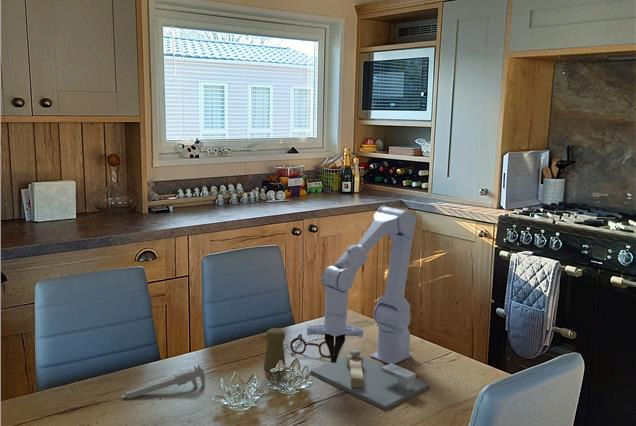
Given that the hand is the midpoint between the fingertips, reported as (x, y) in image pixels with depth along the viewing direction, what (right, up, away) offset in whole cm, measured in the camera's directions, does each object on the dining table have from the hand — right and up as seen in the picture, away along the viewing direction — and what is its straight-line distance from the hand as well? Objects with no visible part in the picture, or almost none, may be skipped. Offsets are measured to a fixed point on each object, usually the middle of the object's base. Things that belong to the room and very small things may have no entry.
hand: (333, 361), depth 160 cm
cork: (-16, -4, +7) cm, 18 cm away
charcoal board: (+9, -5, +1) cm, 11 cm away
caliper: (-42, -6, -9) cm, 44 cm away
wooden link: (+6, -4, +2) cm, 7 cm away
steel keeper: (+16, -5, -3) cm, 18 cm away
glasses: (-5, -2, +22) cm, 23 cm away
